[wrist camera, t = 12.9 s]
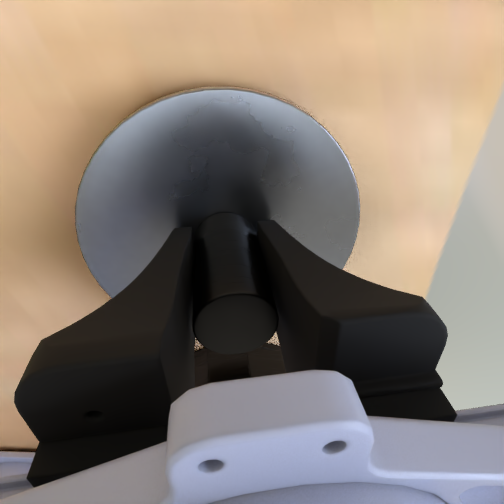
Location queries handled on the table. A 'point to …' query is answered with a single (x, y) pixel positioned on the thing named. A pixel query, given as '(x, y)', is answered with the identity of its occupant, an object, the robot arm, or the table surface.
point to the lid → (216, 201)
